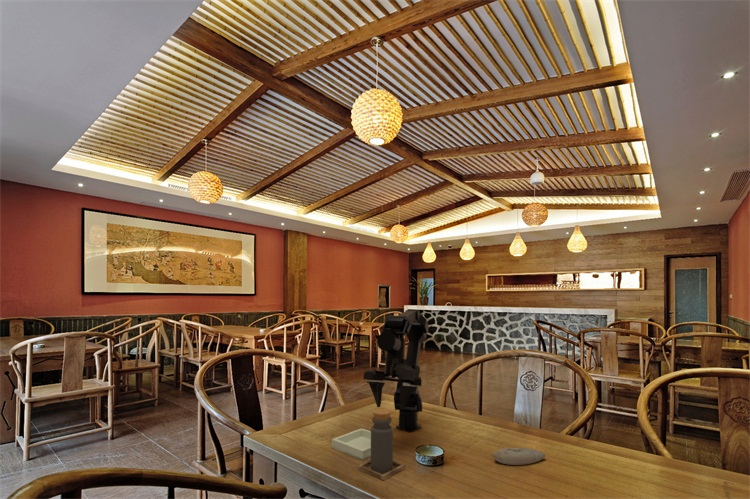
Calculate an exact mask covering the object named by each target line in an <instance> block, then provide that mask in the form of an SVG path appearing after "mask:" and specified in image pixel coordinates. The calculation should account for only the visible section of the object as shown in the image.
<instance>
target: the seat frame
mask: <svg viewBox="0 0 750 499" xmlns="http://www.w3.org/2000/svg"><path fill="white" fill-rule="evenodd" d="M369 466H370V467H371V459H370V460H367V461H365V462H363V463H361V464H358V465H357V470H358V471H360V472H363V473H365V474H367V475H369V476H372V477H374V478H377V479H379V480H381V481H385V480H388V479H389V478H391V477H393V476H394V475H396V474H398V473H401V472H402V471H404V470H406V464H404V463H402V462H398V461H397V460H393V467H395V468H392V470H391V471H389V472H387V473H385V474H381V473H378V472H376V471H374V470H371V468H369Z"/></svg>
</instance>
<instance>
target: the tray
mask: <svg viewBox="0 0 750 499" xmlns="http://www.w3.org/2000/svg"><path fill="white" fill-rule="evenodd" d="M331 449H334V450H336V451H338V452H340V453H343V454H346V455H349V456H350V457H353V458H356V459H358V460H361V461H364V460H367V459H370V458H371V430H368V429H365V428H358V429H356V430H353V431H351V432H348V433H345V434H343V435H340V436H337V437H334V438H332V439H331Z"/></svg>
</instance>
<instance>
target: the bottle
mask: <svg viewBox="0 0 750 499" xmlns="http://www.w3.org/2000/svg"><path fill="white" fill-rule="evenodd" d="M372 414H373V417H372V420H371V421H372V424H373V425H372V426H371V427H370V431H371V457H370V460H371V465H370V469H371V470H374V471H376V472H378V473H381V474H385V473H387V472H389V471H391V470H393V467H394V466H393V458H394V456H393V453H394V452H393V451H394V450H393V446H394V445H393V439H394V438H393V437H394V436H393V435H394V434H393V427H392V426H391V425H390V424H391V423H392V417H391V410H389V409H386V408H376V409H374V410H373V411H372Z"/></svg>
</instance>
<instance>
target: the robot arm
mask: <svg viewBox="0 0 750 499" xmlns="http://www.w3.org/2000/svg"><path fill="white" fill-rule="evenodd" d="M429 328H430V327H429V323H428V320H427V318H426V317H425V316H424V315H423V314H421V312H420V310H419V309H406V310H405V311H404V312H402V313H400V314H398V315H387V318H386V319H385V321H384V324H383V326H382V328H381V331H380V334H379V336H378V337H377V339H376V345H377V347H378V348H379V349H380V350H381V351H383V352H385V357H383V360H382V361H383V362H385V365H384V370H383V371H380V370H374V369H369V370H367V369H366V370H365V372H364V373H363V380H364V381H366V384H368V385H369V387H370V390H371V392H372V396H373V398H374V401H375V404H376V408H381V404H382V394H383V388H384V386H385V384H386V383H385V382H383V381H389V382H394V383H395V382H396V389H395V391H394V393H393V404H394V410H395V411H398V414H399V415H398V425H395V428H396V429H399V430H400V431H401V430H402V431H405V432H407V433H408V432H409V433H412V432H414V431H417V430H420V429H421V428H422V426H421V425H419V424H418V413H420V412H423V402H422V398H421V394H420V389H419V387H422V381H423V380H422V378H421V376H420V373H421V367H420V365H419V361H420V354H421V346H422V345H423V343H424V342H425V341H426V339H427V334H428V333H429ZM405 337H407V340H408V344H407V351H406V349H405V348H406V339H405ZM405 351H406V355H405ZM405 356H406V358H405Z"/></svg>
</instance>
